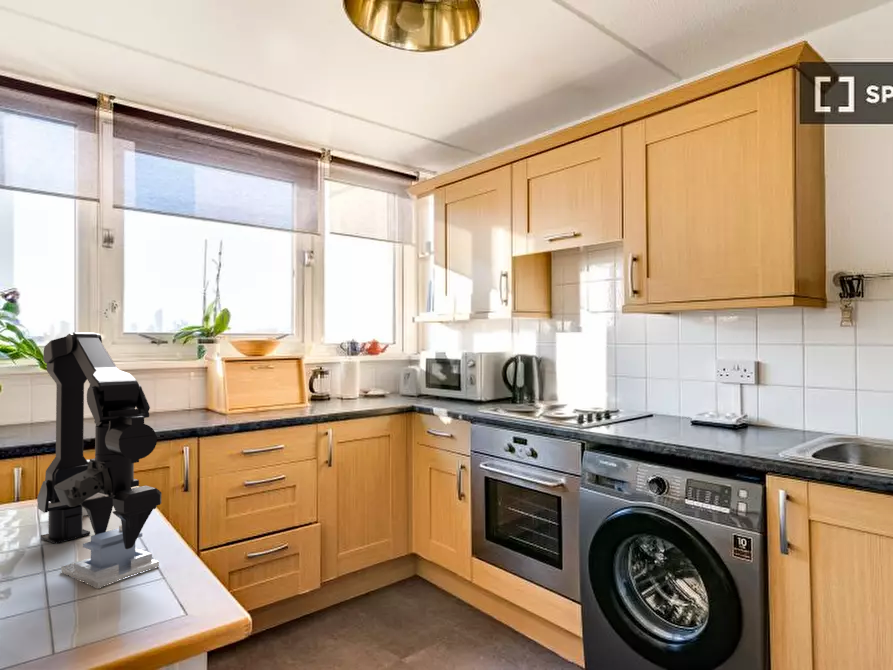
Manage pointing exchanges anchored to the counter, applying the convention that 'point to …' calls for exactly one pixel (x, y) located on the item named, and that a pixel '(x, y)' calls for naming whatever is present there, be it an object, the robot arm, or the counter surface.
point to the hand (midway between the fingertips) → (114, 543)
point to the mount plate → (110, 569)
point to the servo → (109, 549)
